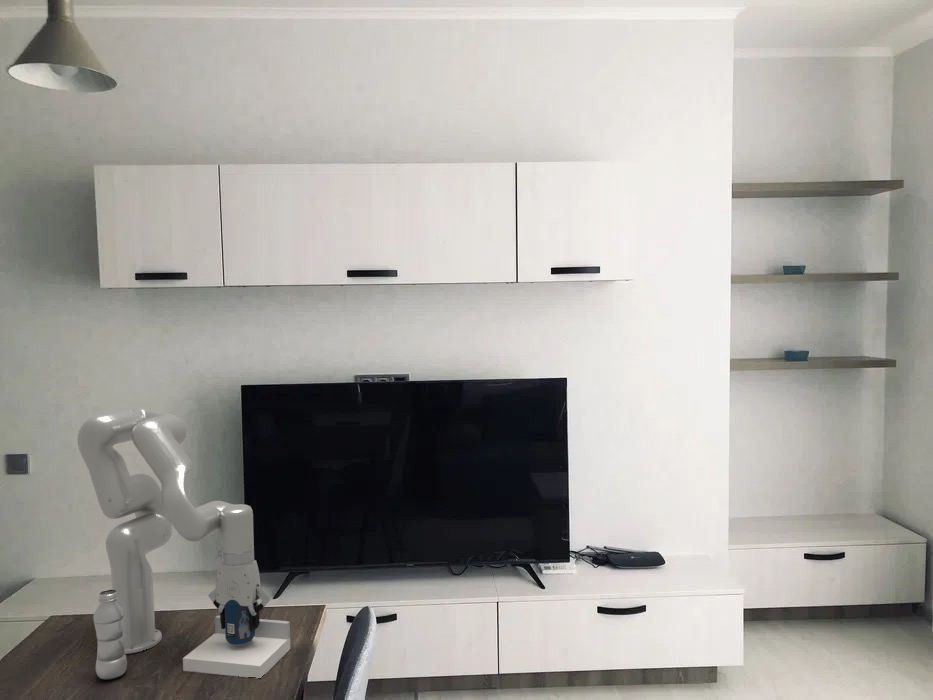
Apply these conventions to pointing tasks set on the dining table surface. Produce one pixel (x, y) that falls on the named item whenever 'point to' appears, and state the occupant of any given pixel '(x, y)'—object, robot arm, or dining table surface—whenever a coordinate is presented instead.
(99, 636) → the plastic bottle
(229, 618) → the soda can
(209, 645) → the shelf
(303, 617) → the dining table surface
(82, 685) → the dining table surface
